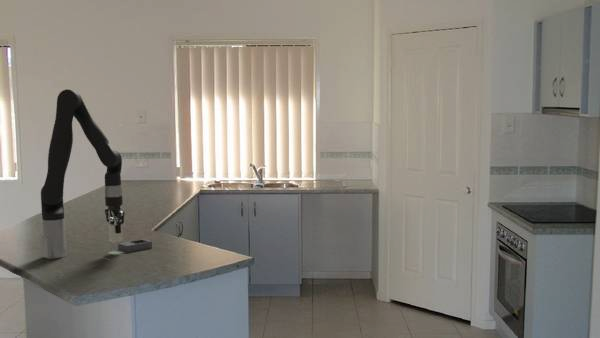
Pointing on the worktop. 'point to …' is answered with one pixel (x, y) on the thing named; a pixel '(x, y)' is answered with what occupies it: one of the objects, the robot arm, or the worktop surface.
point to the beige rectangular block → (113, 235)
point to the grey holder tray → (134, 245)
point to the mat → (116, 252)
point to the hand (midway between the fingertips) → (115, 232)
